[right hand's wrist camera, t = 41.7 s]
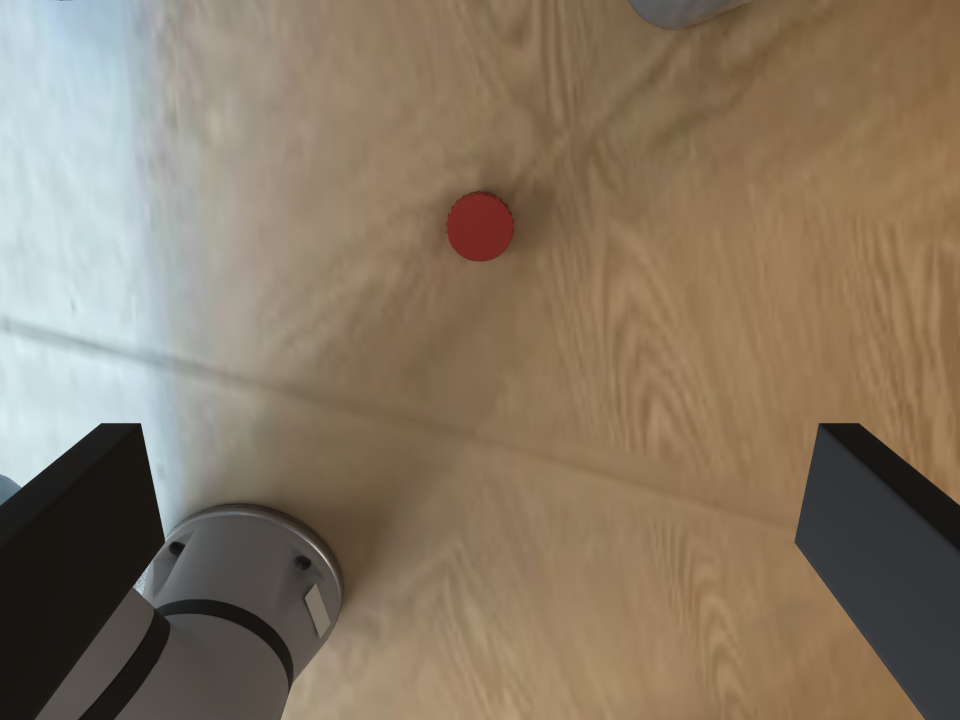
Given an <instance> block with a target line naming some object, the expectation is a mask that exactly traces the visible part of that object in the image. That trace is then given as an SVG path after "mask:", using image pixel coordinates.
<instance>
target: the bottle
mask: <svg viewBox="0 0 960 720" xmlns="http://www.w3.org/2000/svg"><path fill="white" fill-rule="evenodd" d="M629 1H630V3H631V5H632V6H633V8H634V9H635V11H636V12H637V13H638V14H639V15H640V16H641V17H642V18H643V19H644V20H646V21H647V22H649V23H651V24H653V25H655V26H657V27H660V28H664V29H684V28H688V27H692V26H694V25H697V24H699V23H701V22H704V21H706V20H709V19H711V18H713V17H716V16H718V15H721V14H723V13H725V12H728V11H730V10H732V9H735V8H737V7H740V6H742V5H744V4H747V3H749V2H752V1H754V0H629Z"/></svg>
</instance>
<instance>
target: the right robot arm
mask: <svg viewBox="0 0 960 720" xmlns="http://www.w3.org/2000/svg"><path fill="white" fill-rule="evenodd" d="M795 544H796V545H797V546H798V548H799V549H800V550H801V552H802V553H803V554H804V556H805V557H806V559H807V560H808V561H809V563H810V564H811V565H812V567H813V568H814V569H815V571H816V572H817V573H818V575H819V576H820V578H821V579H822V580H823V582H824V583H825V584H826V586H827V587H828V588H829V590H830V591H831V592H832V594H833V595H834V597H835V598H836V599H837V601H838V602H839V603H840V605H841V606H842V607H843V609H844V610H845V611H846V613H847V614H848V616H849V617H850V618H851V620H852V621H853V622H854V624H855V625H856V626H857V628H858V629H859V630H860V632H861V633H862V635H863V636H864V637H865V639H866V640H867V641H868V643H869V644H870V645H871V647H872V648H873V649H874V651H875V652H876V654H877V655H878V656H879V658H880V659H881V660H882V662H883V663H884V664H885V666H886V667H887V669H888V670H889V671H890V673H891V674H892V675H893V677H894V678H895V679H896V681H897V682H898V683H899V685H900V686H901V688H902V689H903V690H904V692H905V693H906V694H907V696H908V697H909V698H910V700H911V701H912V702H913V704H914V705H915V707H916V708H917V709H918V711H919V712H920V713H921V715H922V716H923V717H924V719H925V720H960V505H959V504H957V503H956V502H955V501H954V500H952V499H951V498H950V497H949V496H947V495H946V494H945V493H944V492H943V491H941V490H940V489H939V488H938V487H936V486H935V485H934V484H933V483H931V482H930V481H929V480H928V479H927V478H925V477H924V476H923V475H922V474H920V473H919V472H918V471H917V470H916V469H914V468H913V467H912V466H911V465H909V464H908V463H907V462H906V461H904V460H903V459H902V458H901V457H900V456H898V455H897V454H896V453H895V452H893V451H892V450H891V449H890V448H888V447H887V446H886V445H885V444H884V443H882V442H881V441H880V440H879V439H877V438H876V437H875V436H874V435H872V434H871V433H870V432H869V431H868V430H866V429H865V428H864V427H863V426H861V425H860V424H859V423H819V426H818V431H817V436H816V441H815V446H814V451H813V455H812V460H811V465H810V470H809V475H808V480H807V484H806V489H805V494H804V499H803V504H802V509H801V513H800V518H799V523H798V528H797V533H796V538H795ZM151 561H152V562H151ZM150 563H151V565H150V567H149V570H148V573H147V577H146V582H145V586H144V591H143V595H141V594H140V593H138V592H137V591H136V590H135V589H134V588H133V586H134V584H135V583H136V582H137V580H138V579H139V578H140V576H141V575H142V573H143V572H144V571H145V569H146V568H147V567H148V565H149V564H150ZM343 588H344V586H343V578H342V574H341V570H340V567H339V564H338V562H337V560H336V558H335V556H334V555H333V553H332V551H331V550H330V548H329V547H328V546H327V544H326V543H325V542H324V541H323V540H322V539H321V538H320V537H319V536H318V535H317V534H316V533H315V532H314V531H313V530H311V529H310V528H309V527H307V526H306V525H305V524H303V523H301V522H300V521H298V520H296V519H295V518H293V517H291V516H289V515H286V514H284V513H282V512H279V511H276V510H273V509H269V508H265V507H261V506H254V505H244V504H232V505H222V506H217V507H212V508H209V509H205V510H203V511H200V512H198V513H196V514H194V515H192V516H190V517H188V518H187V519H185V520H183V521H182V522H181V523H180V524H178V525H177V526H176V527H175V528H174V529H173V530H172V531H171V532H170V534H169V535H168V536H167V538H166V539H165V538H164V533H163V528H162V523H161V518H160V513H159V509H158V504H157V499H156V494H155V489H154V484H153V480H152V475H151V470H150V465H149V460H148V455H147V451H146V446H145V441H144V436H143V431H142V426H141V423H101V424H100V425H99V426H97V427H96V428H95V429H94V430H92V431H91V432H90V433H89V434H88V435H86V436H85V437H84V438H83V439H81V440H80V441H79V442H78V443H76V444H75V445H74V446H73V447H72V448H70V449H69V450H68V451H67V452H65V453H64V454H63V455H62V456H60V457H59V458H58V459H57V460H56V461H54V462H53V463H52V464H51V465H49V466H48V467H47V468H46V469H44V470H43V471H42V472H41V473H40V474H38V475H37V476H36V477H35V478H33V479H32V480H31V481H30V482H29V483H27V484H26V485H25V486H24V487H22V488H21V487H20V486H19V485H18V484H17V483H15V482H14V481H13V480H11V479H10V478H8V477H6V476H4V475H1V474H0V720H281V717H282V714H283V711H284V708H285V705H286V701H287V698H288V695H289V692H290V689H291V686H292V683H293V682H294V681H295V679H296V678H297V677H298V676H299V674H300V673H301V672H302V671H303V670H304V668H305V667H306V666H307V665H308V663H309V662H310V661H311V660H312V658H313V657H314V656H315V655H316V653H317V652H318V651H319V650H320V648H321V647H322V646H323V645H324V643H325V642H326V640H327V639H328V637H329V635H330V634H331V632H332V630H333V628H334V626H335V624H336V622H337V619H338V615H339V612H340V608H341V604H342V600H343Z"/></svg>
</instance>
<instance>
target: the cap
mask: <svg viewBox="0 0 960 720" xmlns="http://www.w3.org/2000/svg"><path fill="white" fill-rule="evenodd" d="M446 225H447V232H446V233H447V235H448V239H449V241H450V243H451V245H452V247H453V248H454V250H455V251H456V252H457V253H458V254H460V255H461V256H463V257H464V258H466V259H469V260H472V261H488V260H491V259H494V258H495V257H497V256H499V255H500V254H501V253H502V252H504V250H505V249H506V248H507V247H508V245H509V243H510V241H511V239H512V234H513V231H514V230H513V219H512V218H511V212H509V210H508V207H507V205H505V204H504V202H503V201H502V199H499V198H498V197H496V196H495V194H494V195H492V194H490V193H488V192H480V191H478V192H474V193H472V192H470V194H467V195H465V196H464V195H463V197H462V198H461V199H459V200H457V201H456V203H455V205H454V206H452V208H451V212H450V213H449V214H448V221H447V223H446Z"/></svg>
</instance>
